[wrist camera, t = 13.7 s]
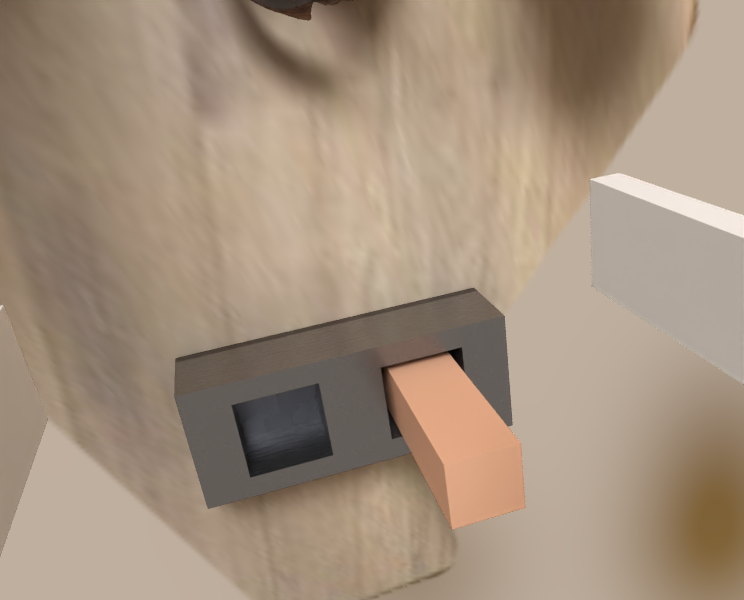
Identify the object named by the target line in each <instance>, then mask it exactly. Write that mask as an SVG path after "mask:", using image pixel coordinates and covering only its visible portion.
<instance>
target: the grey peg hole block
mask: <svg viewBox="0 0 744 600" xmlns="http://www.w3.org/2000/svg"><path fill="white" fill-rule="evenodd" d="M445 351H448V353H449V354H450V355H451V356H452V358H453V359H454V360H455V361H456V363H457V364H458V365H459V366H460V368H461V369H462V370H463V371H464V373H465V374H466V375H467V376H468V378H469V379H470V380H471V381H472V383H473V384H474V385H475V386H476V388H477V389H478V390H479V391H480V393H481V394H482V395H483V396H484V398H485V399H486V400H487V401H488V403H489V404H490V405H491V406H492V408H493V409H494V410H495V411H496V413H497V414H498V415H499V416H500V418H501V419H502V420H503V421H504V423H505V424H506V425H507V426H511V425H512V412H511V398H510V385H509V371H508V359H507V358H508V357H507V343H506V330H505V316H504V315H503V314H502V313H501V312H500V311H499V310H498V309H496V308H495V307H494V306H493V305H492V304H491V303H490V302H489V301H488V300H487V299H486V298H484V297H483V296H482V295H481V294H480V293H479V292H478V291H477V290H476V289H475V288H471V289H467V290H462V291H458V292H454V293H450V294H445V295H441V296H437V297H433V298H429V299H424V300H420V301H416V302H412V303H407V304H403V305H399V306H395V307H391V308H386V309H382V310H378V311H374V312H369V313H365V314H361V315H357V316H353V317H348V318H344V319H340V320H336V321H331V322H327V323H323V324H319V325H315V326H310V327H306V328H302V329H298V330H293V331H289V332H285V333H281V334H277V335H272V336H268V337H264V338H260V339H255V340H251V341H247V342H243V343H239V344H234V345H230V346H226V347H222V348H217V349H213V350H209V351H205V352H200V353H196V354H192V355H188V356H184V357H179V358H176V361H175V394H174V397H175V401H176V404H177V407H178V411H179V414H180V417H181V421H182V424H183V427H184V431H185V434H186V437H187V441H188V444H189V447H190V451H191V454H192V457H193V461H194V464H195V467H196V471H197V474H198V477H199V481H200V484H201V487H202V491H203V494H204V497H205V501H206V504H207V507H208V509H210V508H213V507H217V506H221V505H224V504H228V503H231V502H235V501H239V500H242V499H246V498H250V497H253V496H257V495H261V494H264V493H268V492H271V491H275V490H279V489H282V488H286V487H290V486H293V485H297V484H300V483H304V482H308V481H311V480H315V479H319V478H322V477H326V476H330V475H333V474H337V473H340V472H344V471H348V470H351V469H355V468H359V467H362V466H366V465H370V464H373V463H377V462H380V461H384V460H388V459H391V458H395V457H399V456H402V455H406V454H410V453H411V451H410V449H409V447H408V445H407V443H406V442H405V440H404V438H403V436H402V434H401V432H400V430H399V428H398V426H397V424H396V423H395V421H394V419H393V417H392V415H391V413H390V411H389V409H388V407H387V405H386V399H385V392H384V386H383V380H382V373H381V367H385V366H389V365H393V364H397V363H401V362H405V361H409V360H413V359H417V358H421V357H425V356H429V355H433V354H437V353H441V352H445Z"/></svg>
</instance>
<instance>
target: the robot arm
mask: <svg viewBox="0 0 744 600" xmlns="http://www.w3.org/2000/svg"><path fill="white" fill-rule="evenodd" d="M590 214H591V267H592V268H591V269H592V287H593V288H595V289H596V290H598V291H599V292H601V293H603V294H604V295H606V296H607V297H609V298H611V299H612V300H613V301H615V302H617V303H618V304H620V305H621V306H623V307H624V308H626V309H627V310H629V311H631V312H632V313H634V314H635V315H637V316H638V317H640V318H641V319H643V320H644V321H646V322H648V323H649V324H651V325H652V326H654V327H655V328H657V329H658V330H660V331H661V332H663V333H665V334H666V335H668V336H669V337H671V338H672V339H674V340H675V341H677V342H678V343H680V344H682V345H683V346H685V347H686V348H688V349H689V350H691V351H692V352H694V353H696V354H697V355H699V356H700V357H702V358H703V359H705V360H706V361H708V362H709V363H711V364H713V365H714V366H716V367H717V368H719V369H720V370H722V371H723V372H725V373H727V374H728V375H730V376H731V377H733V378H734V379H736V380H737V381H739V382H740V383H742V384H744V215H741V214H737V213H735V212H732V211H729V210H726V209H723V208H720V207H717V206H714V205H711V204H708V203H706V202H703V201H700V200H697V199H694V198H691V197H688V196H685V195H682V194H679V193H676V192H673V191H671V190H668V189H665V188H662V187H659V186H656V185H653V184H650V183H647V182H644V181H641V180H638V179H636V178H633V177H630V176H627V175H624V174H621V173H617V174H612V175H607V176H603V177H598V178H593V179H590ZM47 421H48V418H47V415H46V413H45V410H44V408H43V405H42V403H41V400H40V397H39V395H38V392H37V390H36V387H35V385H34V382H33V379H32V377H31V374H30V372H29V369H28V367H27V364H26V362H25V359H24V356H23V354H22V351H21V349H20V346H19V344H18V341H17V339H16V336H15V333H14V331H13V328H12V326H11V323H10V321H9V318H8V316H7V313H6V310H5V308H4V305H3V306H0V555H1V553H2V550H3V547H4V544H5V541H6V538H7V535H8V532H9V530H10V527H11V524H12V521H13V518H14V515H15V512H16V510H17V506H18V504H19V501H20V498H21V495H22V492H23V489H24V487H25V483H26V481H27V478H28V475H29V472H30V469H31V466H32V463H33V461H34V458H35V455H36V452H37V449H38V446H39V444H40V440H41V438H42V435H43V432H44V429H45V426H46V423H47Z"/></svg>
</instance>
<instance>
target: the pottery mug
mask: <svg viewBox="0 0 744 600" xmlns="http://www.w3.org/2000/svg"><path fill="white" fill-rule="evenodd" d="M251 1H253V2H255V3H257V4H259V5H261V6H263V7H265V8H267V9H269V10H272V11H274V12H279V13H282V14H285V15H288V16H291V17H294V18H297V19H303V20H311V14H310V13H311V7H312V4H313V2H318V3H321V4H324V5H335V4H338V3H340V2H342V1H352V0H251Z"/></svg>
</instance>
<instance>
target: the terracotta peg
mask: <svg viewBox="0 0 744 600" xmlns="http://www.w3.org/2000/svg"><path fill="white" fill-rule="evenodd" d="M381 373H382V380H383V386H384V392H385V399H386V405H387V407H388V409H389V411H390V413H391V415H392V417H393V419H394V421H395V423H396V424H397V426H398V428H399V430H400V432H401V434H402V436H403V438H404V440H405V442H406V443H407V445H408V447H409V449H410V451H411V453H412V455H413V457H414V459H415V461H416V462H417V464H418V466H419V468H420V470H421V472H422V474H423V476H424V478H425V479H426V481H427V483H428V485H429V487H430V489H431V491H432V493H433V495H434V497H435V498H436V500H437V502H438V504H439V506H440V508H441V510H442V512H443V514H444V516H445V517H446V519H447V521H448V523H449V525H450V527H451V529H456V528H459V527H463V526H466V525H469V524H473V523H476V522H479V521H482V520H485V519H489V518H492V517H496V516H499V515H503V514H506V513H509V512H513V511H516V510H520V509H523V508H525V495H524V479H523V465H522V450H521V443H520V441H519V440H518V439H517V438H516V437H515V435H514V434H513V433H512V431H511V430H510V429H509V428H508V426H507V425H506V424H505V423H504V421H503V420H502V419H501V418H500V416H499V415H498V414H497V413H496V411H495V410H494V409H493V408H492V406H491V405H490V404H489V403H488V401H487V400H486V399H485V398H484V396H483V395H482V394H481V393H480V391H479V390H478V389H477V388H476V386H475V385H474V384H473V383H472V381H471V380H470V379H469V378H468V376H467V375H466V374H465V373H464V371H463V370H462V369H461V368H460V366H459V365H458V364H457V363H456V361H455V360H454V359H453V358H452V356H451V355H450V354H449V353H448V351H445V352H441V353H437V354H433V355H429V356H425V357H421V358H417V359H413V360H409V361H405V362H401V363H397V364H393V365H389V366H385V367H381Z"/></svg>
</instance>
